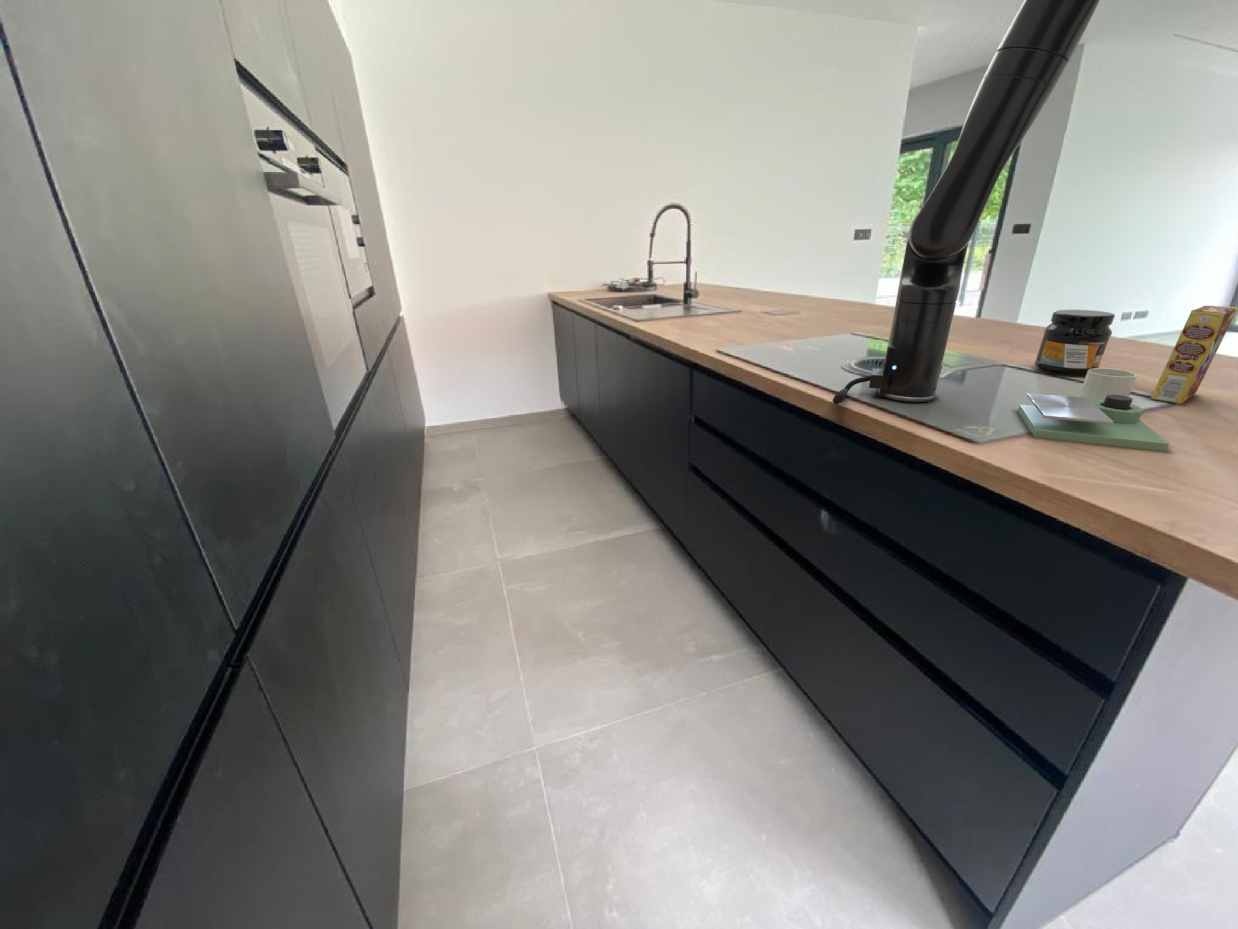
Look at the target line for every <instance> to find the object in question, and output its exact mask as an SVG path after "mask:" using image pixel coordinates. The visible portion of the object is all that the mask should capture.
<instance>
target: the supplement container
mask: <svg viewBox="0 0 1238 929" xmlns="http://www.w3.org/2000/svg"><path fill="white" fill-rule="evenodd" d="M1115 317H1116V314H1115V313H1112V312H1109V311H1103V310H1091V309H1058V310H1055V311H1053V313H1052V315H1051V318H1050V322H1051V323H1050V324H1048V325H1046V327H1045V328H1044V332H1043V333H1044V334H1043V335H1042V339H1041V342H1040V346H1039V348H1038V352H1037V356H1036V358H1035V360H1034V367H1035V368H1036V369H1037V370H1038V371H1041V372H1043V373H1047V374H1052V375H1058V376H1066V377H1086V375H1087V372H1088V370H1089V369H1093V368H1100V365H1101V362H1102V359H1103V357H1104V354H1105V351H1106V348H1107V346H1108V344H1109V340H1110V338H1111V337H1112V335H1113V331H1112V329H1111V328H1110V326H1112V325H1113V323H1114V322H1113V321H1115Z"/></svg>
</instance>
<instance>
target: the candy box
mask: <svg viewBox="0 0 1238 929" xmlns="http://www.w3.org/2000/svg"><path fill="white" fill-rule="evenodd" d="M1237 311H1238V307H1236V306H1235V307H1234V306H1225V305H1203V306H1201V307H1199V308H1196V309H1192V310H1190V313H1189V316H1188V317H1187V319H1186V322H1185V324H1184V326H1183V329H1182V331H1181V333H1180V335H1179V336H1178V339H1177V341H1176V343H1175V345H1174V348H1173V349H1172V351H1171V354H1170V356H1169V358H1168V361H1167V362H1166V364H1165V366H1164V369H1163V371H1162V373H1161V375H1160V378H1159V379H1158V382H1157V383H1156V385H1155V388H1154V391H1153V392H1152V395H1151V397H1150V399H1151V400H1154V401H1160V402H1164V403H1171V404H1176V405H1182V404H1183V403H1185V402H1186V401H1188V400H1189V399H1191V398H1193V397H1194V396H1195V395H1196V394H1197V392H1198V390H1199V387H1200V386H1201V384H1202V382H1203V380H1204V378H1205V376H1206V374H1207V371H1208V370H1209V368H1210V366H1211V364H1212V362H1213V360H1214V358H1215V357H1216V354H1217V352H1218V350H1219V348H1220V346H1221V344H1222V342H1223V340H1224V337H1225V335H1226V334H1227V331H1228V329H1229V327H1230V326H1231V324H1232V322H1233V319H1234V317H1235V315H1236V313H1237Z"/></svg>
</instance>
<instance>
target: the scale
mask: <svg viewBox="0 0 1238 929" xmlns="http://www.w3.org/2000/svg"><path fill="white" fill-rule="evenodd" d="M1092 402H1093V403H1094V404H1095V405H1096V406H1097V407H1098V408H1099V409H1100V410H1101V411H1103V412H1104V413H1105V414H1106V415H1107V416H1108V417H1109V418H1110V419H1111V420H1112V421H1113V422H1114V423H1113V424H1104V423H1093V422H1083V421H1072V420H1062V419H1051V418H1044V417H1043V416H1042V415H1041V413H1040V412H1039V411H1038V409H1037V408H1036V407H1035V405H1029V404H1019V406H1018V409H1017V413H1018V414H1019V416H1020V417H1021V418H1022V420H1023V422H1024V424H1025V425H1026V426H1027V428H1028V429H1029V431H1030V434H1032V436H1033V437H1034V438H1039V439H1049V440H1056V441H1057V440H1058V441H1067V442H1075V443H1085V444H1094V445H1103V446H1112V447H1122V448H1130V449H1131V448H1132V449H1140V450H1150V451H1157V452H1159V451H1160V452H1167V450H1168V448H1169V446H1170V443H1169V442H1168V441H1166V440H1165V439H1164V438H1162V437H1161V435H1159V434H1158V433H1157V432H1155V431H1154V430H1153V429H1152V428H1150V427H1149V426H1148V425H1147V424H1146V423H1144V422H1143V421H1142V420H1141V416H1142V415H1143V413H1144V409H1143V408H1142V407H1140V406H1139V405H1135V404H1132V403H1131V405H1130V408H1129V410H1120V409H1113V408H1107V407H1104V406H1103V403H1104V400H1098V401H1092Z"/></svg>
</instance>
